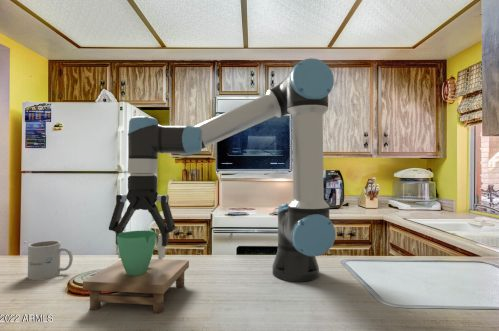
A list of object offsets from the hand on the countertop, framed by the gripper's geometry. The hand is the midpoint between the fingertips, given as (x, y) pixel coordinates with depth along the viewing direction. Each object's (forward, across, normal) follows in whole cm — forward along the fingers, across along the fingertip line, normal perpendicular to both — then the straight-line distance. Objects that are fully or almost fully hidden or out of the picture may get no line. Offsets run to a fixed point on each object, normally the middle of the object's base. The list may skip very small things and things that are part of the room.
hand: (141, 257), depth 83 cm
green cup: (+4, 0, 0) cm, 4 cm away
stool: (+10, 0, 0) cm, 10 cm away
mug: (+11, +36, -12) cm, 39 cm away
